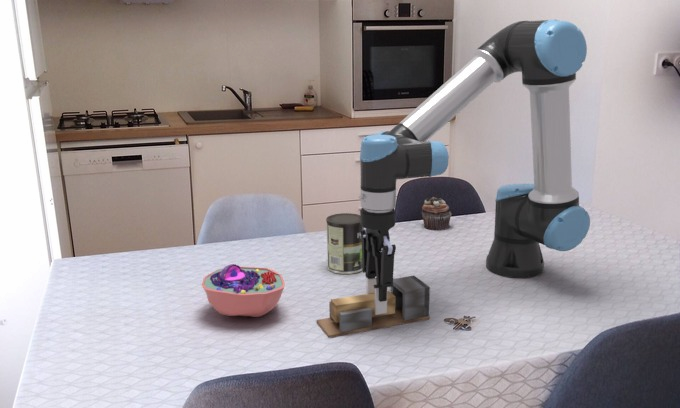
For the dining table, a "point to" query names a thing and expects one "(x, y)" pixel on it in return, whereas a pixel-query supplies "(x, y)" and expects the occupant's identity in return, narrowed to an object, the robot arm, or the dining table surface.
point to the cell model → (243, 290)
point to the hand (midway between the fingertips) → (376, 309)
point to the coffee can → (344, 243)
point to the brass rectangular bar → (359, 304)
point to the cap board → (407, 309)
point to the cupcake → (436, 214)
